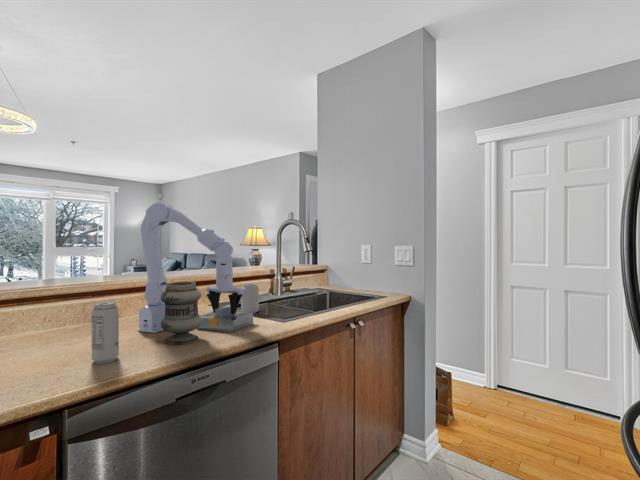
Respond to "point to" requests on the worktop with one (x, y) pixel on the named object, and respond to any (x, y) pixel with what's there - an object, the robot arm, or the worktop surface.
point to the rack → (226, 321)
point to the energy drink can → (105, 332)
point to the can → (250, 298)
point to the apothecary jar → (181, 312)
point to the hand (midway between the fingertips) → (224, 312)
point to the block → (223, 311)
